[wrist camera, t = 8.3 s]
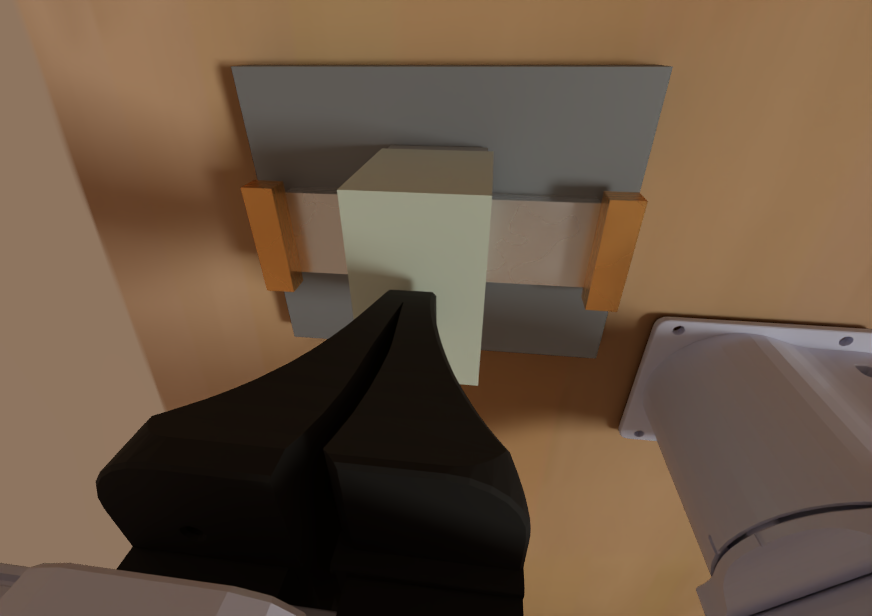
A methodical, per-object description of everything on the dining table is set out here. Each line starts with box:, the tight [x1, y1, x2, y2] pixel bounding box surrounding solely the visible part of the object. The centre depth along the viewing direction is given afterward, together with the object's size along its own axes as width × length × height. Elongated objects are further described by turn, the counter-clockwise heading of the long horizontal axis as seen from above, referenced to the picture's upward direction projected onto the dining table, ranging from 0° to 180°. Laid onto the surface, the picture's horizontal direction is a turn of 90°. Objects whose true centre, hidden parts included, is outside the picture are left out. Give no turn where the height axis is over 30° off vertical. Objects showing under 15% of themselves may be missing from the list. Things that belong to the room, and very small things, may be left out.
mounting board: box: [231, 65, 673, 358], centre depth 18 cm, size 15×12×1 cm
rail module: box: [337, 145, 494, 386], centre depth 15 cm, size 4×6×6 cm, turn 0°
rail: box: [241, 180, 648, 312], centre depth 16 cm, size 14×4×2 cm, turn 91°
